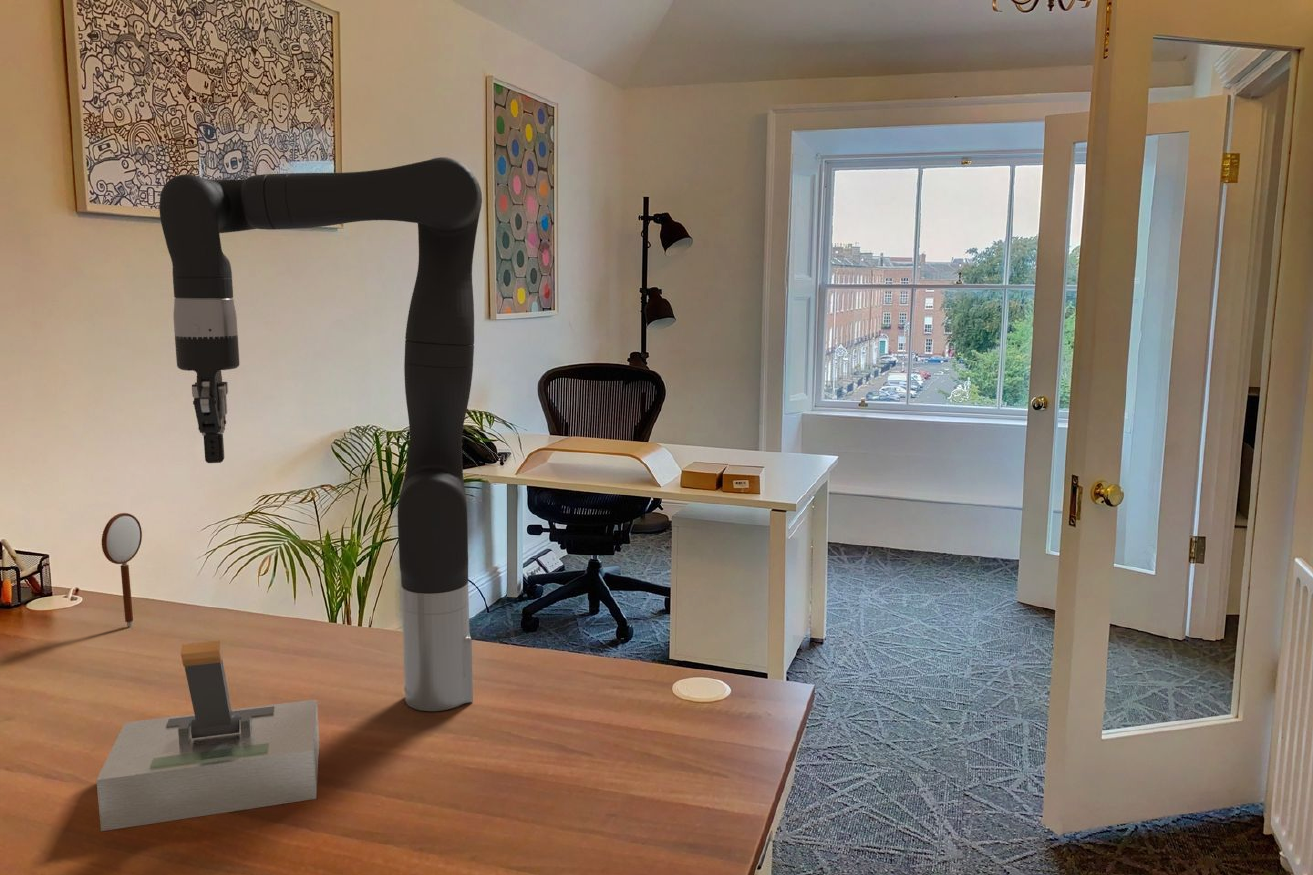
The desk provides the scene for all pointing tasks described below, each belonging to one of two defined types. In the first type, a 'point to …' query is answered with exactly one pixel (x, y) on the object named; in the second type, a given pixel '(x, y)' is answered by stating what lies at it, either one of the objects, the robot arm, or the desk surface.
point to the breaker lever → (208, 690)
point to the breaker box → (209, 766)
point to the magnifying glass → (122, 551)
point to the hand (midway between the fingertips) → (215, 461)
